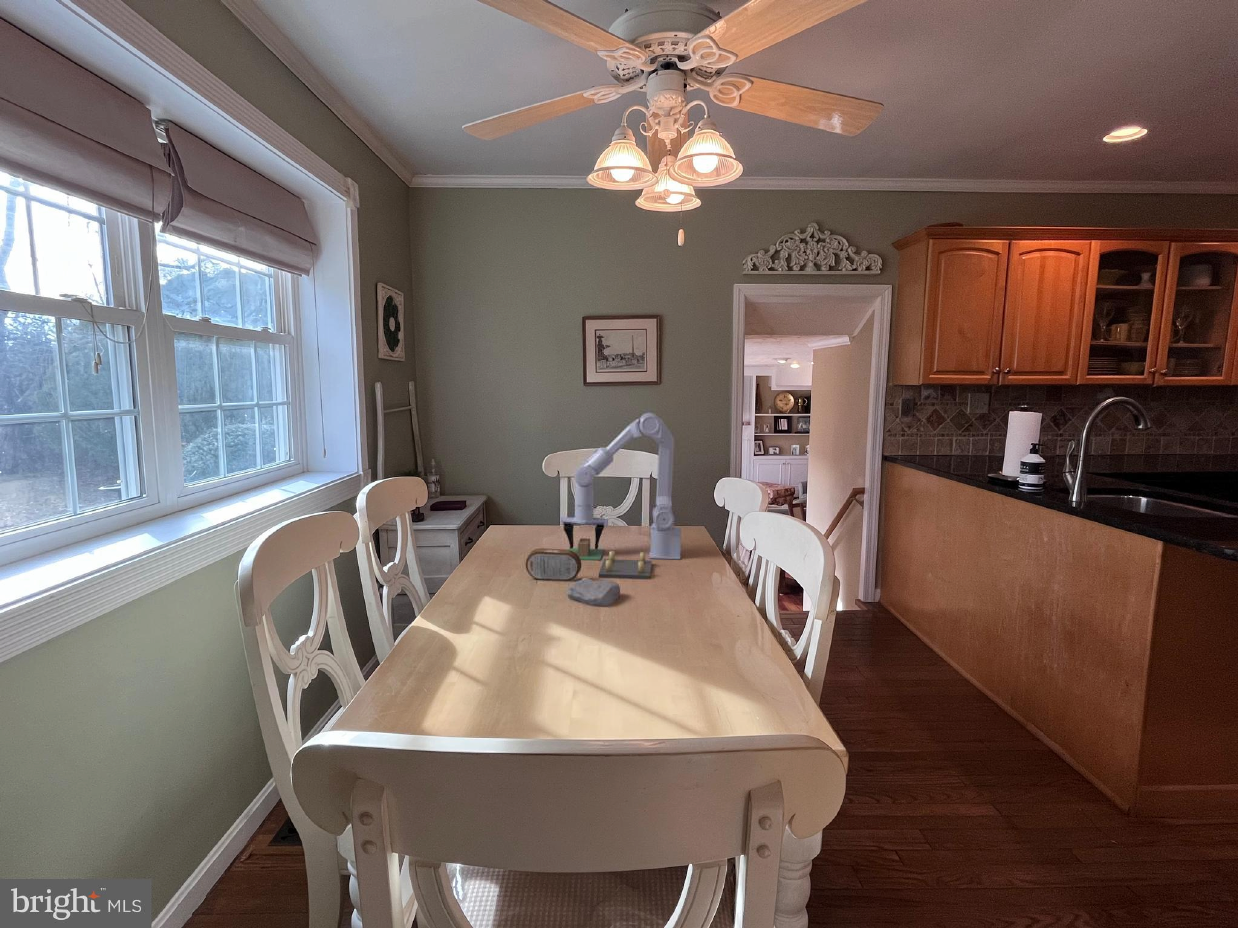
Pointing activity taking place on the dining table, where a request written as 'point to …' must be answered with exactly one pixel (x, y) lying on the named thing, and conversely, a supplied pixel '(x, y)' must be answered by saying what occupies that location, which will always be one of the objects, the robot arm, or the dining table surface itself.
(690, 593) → the dining table surface
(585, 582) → the stone block
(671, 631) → the dining table surface
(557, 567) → the tin
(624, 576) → the chassis
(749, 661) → the dining table surface
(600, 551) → the board
